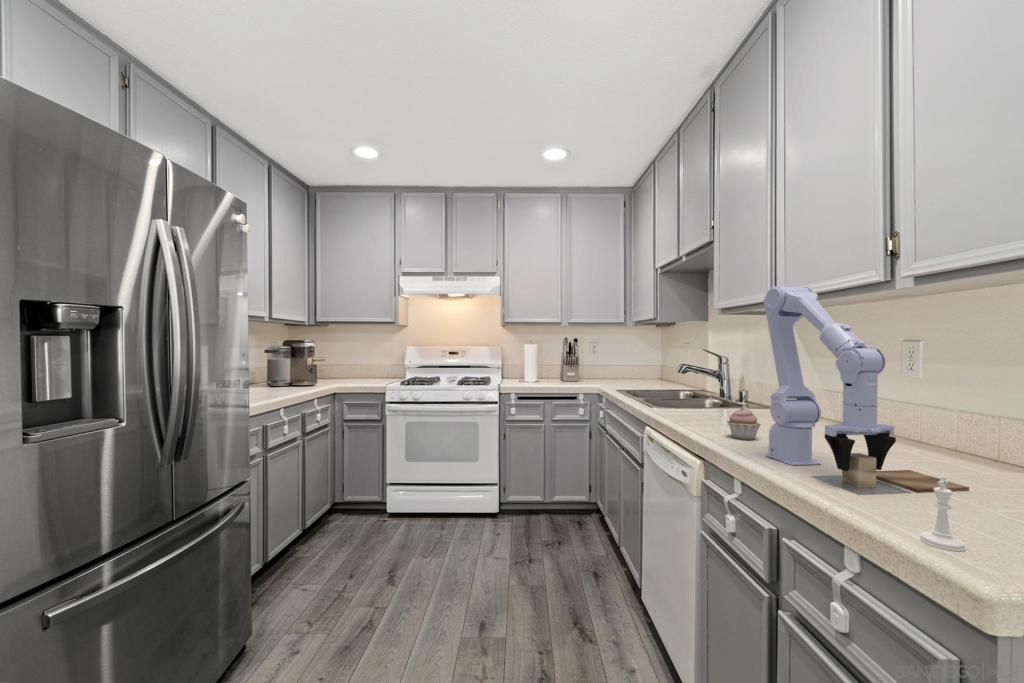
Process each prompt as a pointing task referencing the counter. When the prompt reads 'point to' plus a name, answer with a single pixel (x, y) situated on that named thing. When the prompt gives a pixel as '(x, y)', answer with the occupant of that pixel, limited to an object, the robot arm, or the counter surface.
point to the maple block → (861, 471)
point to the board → (915, 481)
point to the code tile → (879, 489)
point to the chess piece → (942, 522)
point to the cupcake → (743, 424)
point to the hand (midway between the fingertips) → (859, 469)
